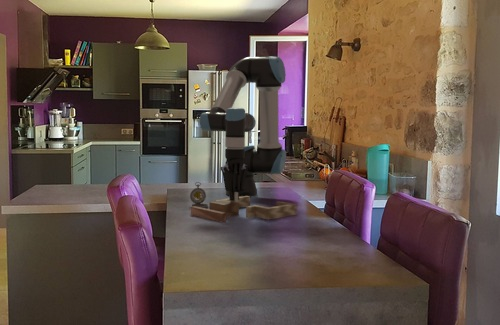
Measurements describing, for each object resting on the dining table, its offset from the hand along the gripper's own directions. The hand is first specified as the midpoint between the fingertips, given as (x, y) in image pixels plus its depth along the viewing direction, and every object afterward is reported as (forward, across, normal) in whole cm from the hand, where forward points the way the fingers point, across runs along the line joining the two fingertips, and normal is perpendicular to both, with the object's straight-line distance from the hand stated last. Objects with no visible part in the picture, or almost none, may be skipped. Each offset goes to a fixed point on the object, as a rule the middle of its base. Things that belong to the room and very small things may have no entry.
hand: (234, 208), depth 211 cm
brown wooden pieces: (+2, -2, +3) cm, 4 cm away
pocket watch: (+2, +1, -20) cm, 20 cm away
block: (+2, +5, -1) cm, 5 cm away
